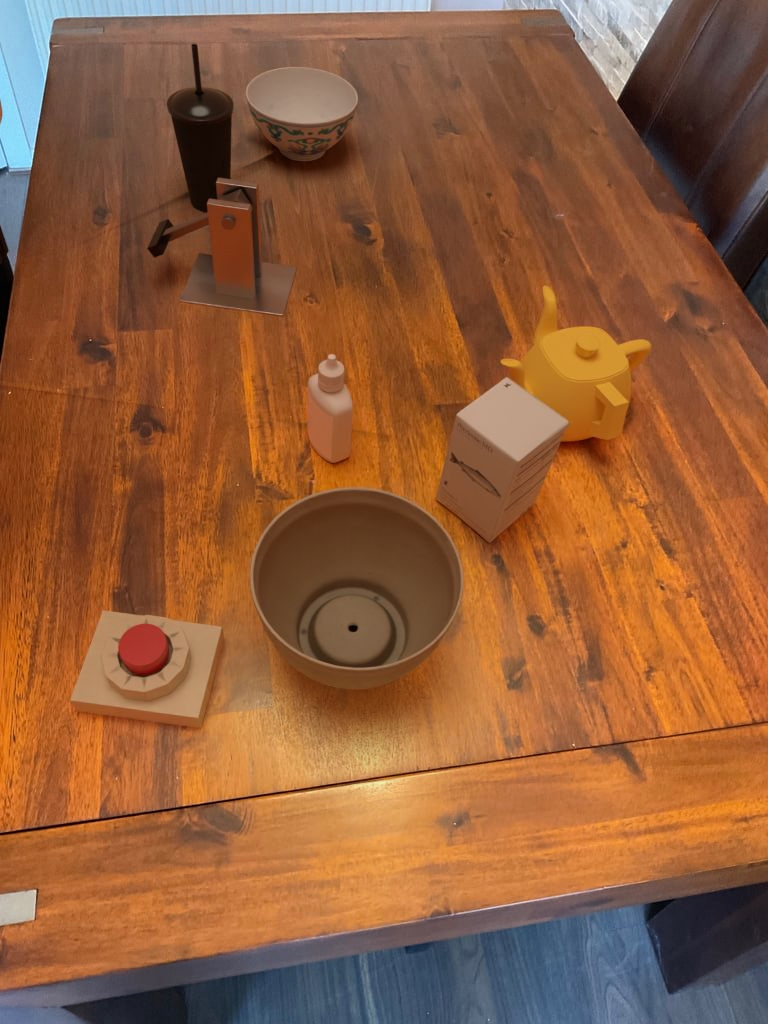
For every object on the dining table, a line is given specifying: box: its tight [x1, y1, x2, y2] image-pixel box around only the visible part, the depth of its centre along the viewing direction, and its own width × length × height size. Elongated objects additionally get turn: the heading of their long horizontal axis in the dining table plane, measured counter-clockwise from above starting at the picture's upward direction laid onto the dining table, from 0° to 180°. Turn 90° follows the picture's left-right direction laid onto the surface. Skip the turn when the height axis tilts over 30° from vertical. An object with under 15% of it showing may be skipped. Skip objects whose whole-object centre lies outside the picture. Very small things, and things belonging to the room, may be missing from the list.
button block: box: [69, 609, 225, 729], centre depth 64 cm, size 10×8×4 cm
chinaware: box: [245, 66, 359, 162], centre depth 111 cm, size 15×15×8 cm
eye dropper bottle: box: [306, 353, 354, 464], centre depth 77 cm, size 4×6×12 cm
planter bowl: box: [249, 486, 464, 690], centre depth 65 cm, size 16×16×11 cm
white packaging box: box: [435, 376, 569, 544], centre depth 74 cm, size 7×7×13 cm
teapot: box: [500, 285, 652, 443], centre depth 84 cm, size 14×13×10 cm
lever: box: [146, 189, 253, 258], centre depth 88 cm, size 12×5×2 cm, turn 84°
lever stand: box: [178, 178, 298, 317], centre depth 89 cm, size 12×9×13 cm
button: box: [118, 624, 169, 675], centre depth 62 cm, size 4×4×2 cm
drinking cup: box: [166, 43, 235, 213], centre depth 96 cm, size 8×8×20 cm
